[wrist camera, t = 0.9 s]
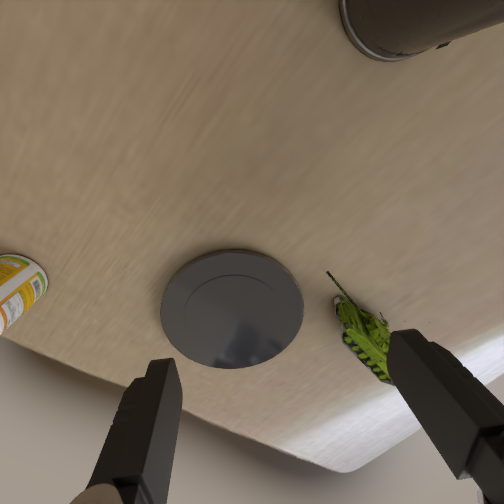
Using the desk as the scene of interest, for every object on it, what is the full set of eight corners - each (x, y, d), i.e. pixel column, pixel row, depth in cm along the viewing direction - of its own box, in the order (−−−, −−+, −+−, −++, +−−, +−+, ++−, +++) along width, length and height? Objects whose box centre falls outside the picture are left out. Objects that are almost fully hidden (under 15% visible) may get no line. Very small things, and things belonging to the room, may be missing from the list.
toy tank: (378, 405, 33) (467, 377, 29) (281, 313, 26) (381, 260, 22) (362, 354, 39) (435, 326, 35) (281, 269, 32) (359, 221, 28)
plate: (136, 324, 31) (132, 332, 30) (217, 218, 27) (217, 223, 26) (245, 378, 37) (246, 386, 35) (329, 297, 32) (333, 303, 31)
